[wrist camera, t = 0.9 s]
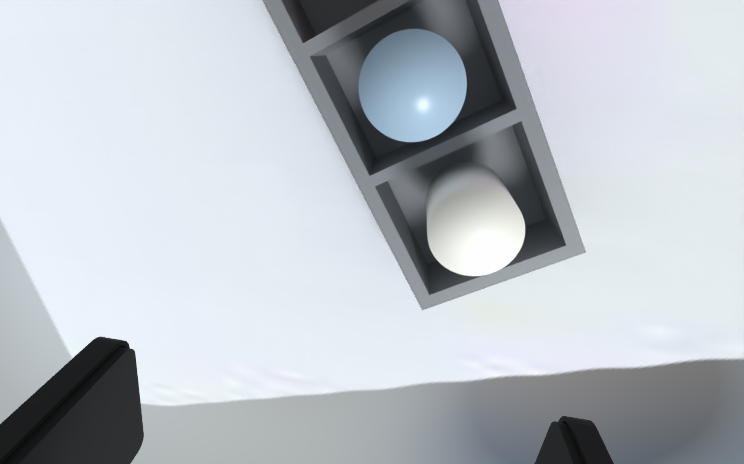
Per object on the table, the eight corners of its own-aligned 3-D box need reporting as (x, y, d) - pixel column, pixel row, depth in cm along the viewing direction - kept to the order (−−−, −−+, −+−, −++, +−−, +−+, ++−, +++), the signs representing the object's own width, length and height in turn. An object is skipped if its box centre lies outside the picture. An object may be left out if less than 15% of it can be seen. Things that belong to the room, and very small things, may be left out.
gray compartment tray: (402, -219, 25) (398, -287, 20) (561, 222, 34) (585, 252, 29) (234, -101, 28) (194, -133, 23) (422, 274, 37) (422, 310, 32)
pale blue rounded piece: (436, 15, 26) (440, 6, 21) (470, 101, 28) (483, 114, 23) (355, 59, 28) (339, 61, 22) (392, 138, 30) (386, 158, 24)
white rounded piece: (489, 148, 29) (505, 171, 24) (517, 219, 31) (538, 256, 25) (413, 181, 31) (411, 211, 25) (444, 247, 32) (449, 288, 27)
